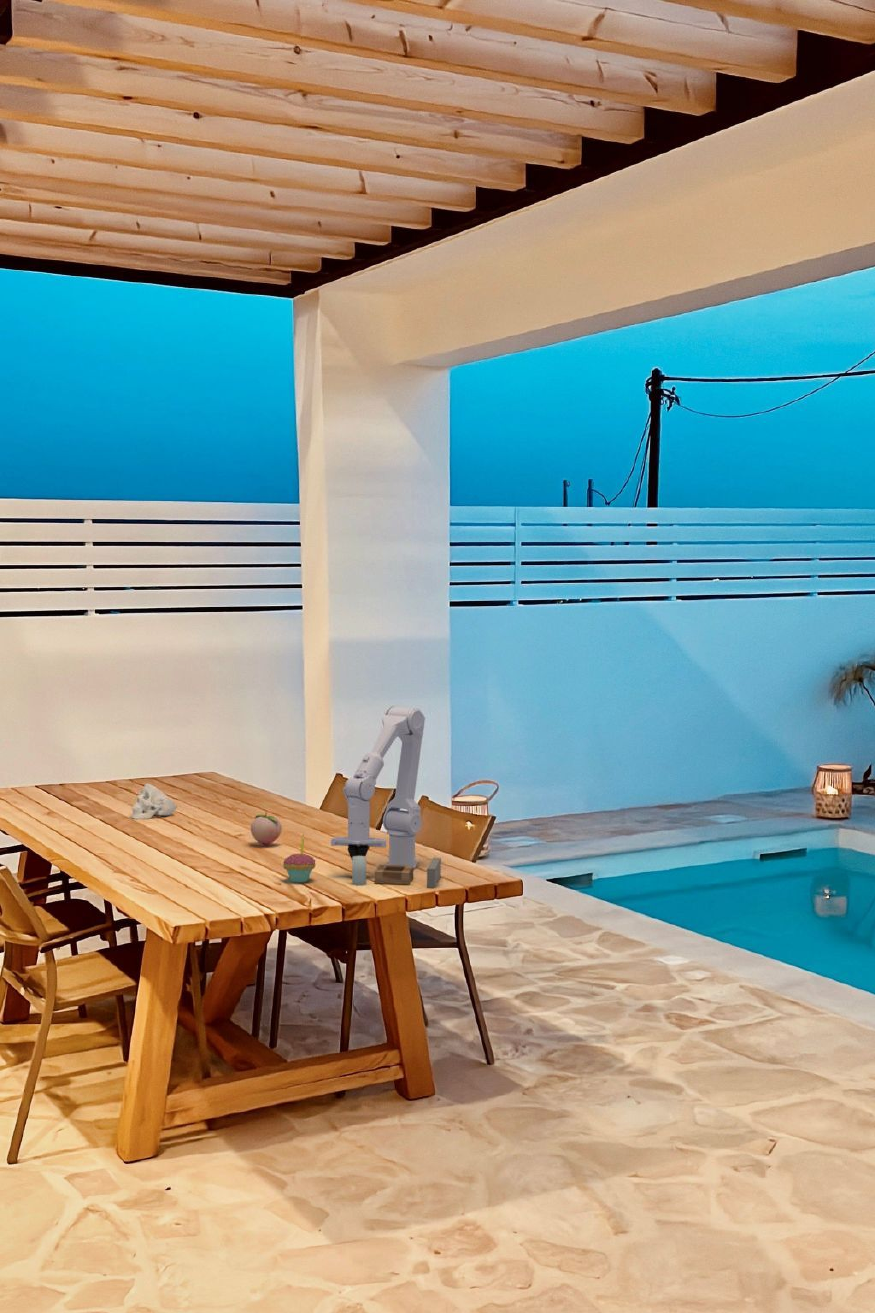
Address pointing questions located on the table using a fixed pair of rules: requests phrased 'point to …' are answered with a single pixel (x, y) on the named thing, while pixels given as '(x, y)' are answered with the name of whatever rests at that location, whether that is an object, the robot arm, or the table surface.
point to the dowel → (359, 870)
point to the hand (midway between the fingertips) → (358, 873)
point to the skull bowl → (152, 803)
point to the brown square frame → (394, 874)
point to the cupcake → (299, 866)
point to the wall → (433, 872)
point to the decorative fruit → (265, 829)
